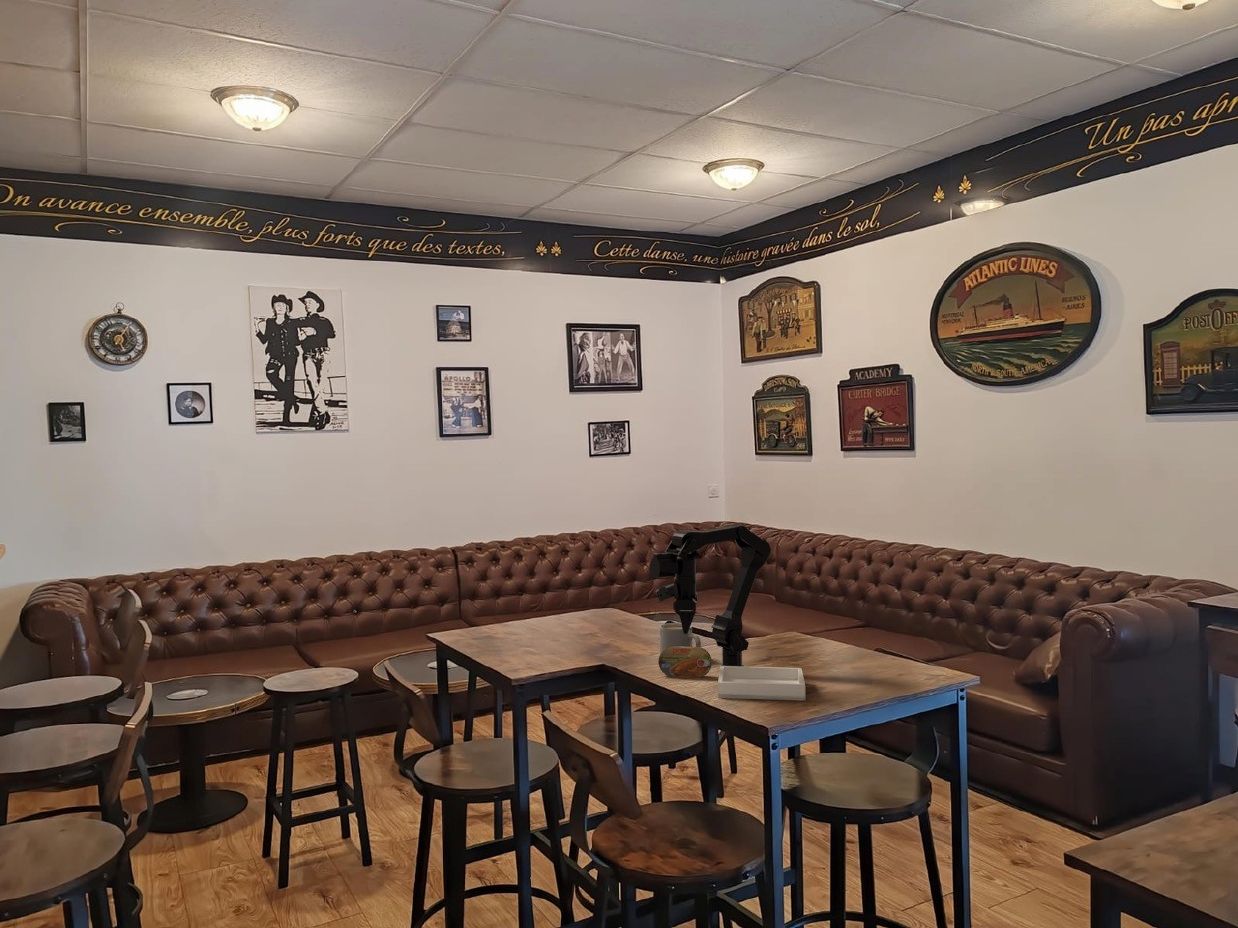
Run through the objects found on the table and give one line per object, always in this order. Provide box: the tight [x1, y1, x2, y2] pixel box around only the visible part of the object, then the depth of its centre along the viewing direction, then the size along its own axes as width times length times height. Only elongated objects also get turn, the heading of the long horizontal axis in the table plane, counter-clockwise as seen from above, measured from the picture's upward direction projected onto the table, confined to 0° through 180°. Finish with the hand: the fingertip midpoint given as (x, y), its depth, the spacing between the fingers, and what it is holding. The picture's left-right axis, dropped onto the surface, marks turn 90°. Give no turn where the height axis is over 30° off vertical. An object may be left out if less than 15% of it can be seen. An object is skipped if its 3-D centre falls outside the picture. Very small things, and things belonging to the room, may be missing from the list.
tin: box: [658, 646, 713, 678], centre depth 255 cm, size 15×3×8 cm, turn 80°
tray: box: [717, 665, 806, 701], centre depth 240 cm, size 18×22×4 cm
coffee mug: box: [659, 622, 702, 655], centre depth 276 cm, size 13×10×10 cm
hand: (686, 630), depth 255 cm, fingers open, 9 cm apart
